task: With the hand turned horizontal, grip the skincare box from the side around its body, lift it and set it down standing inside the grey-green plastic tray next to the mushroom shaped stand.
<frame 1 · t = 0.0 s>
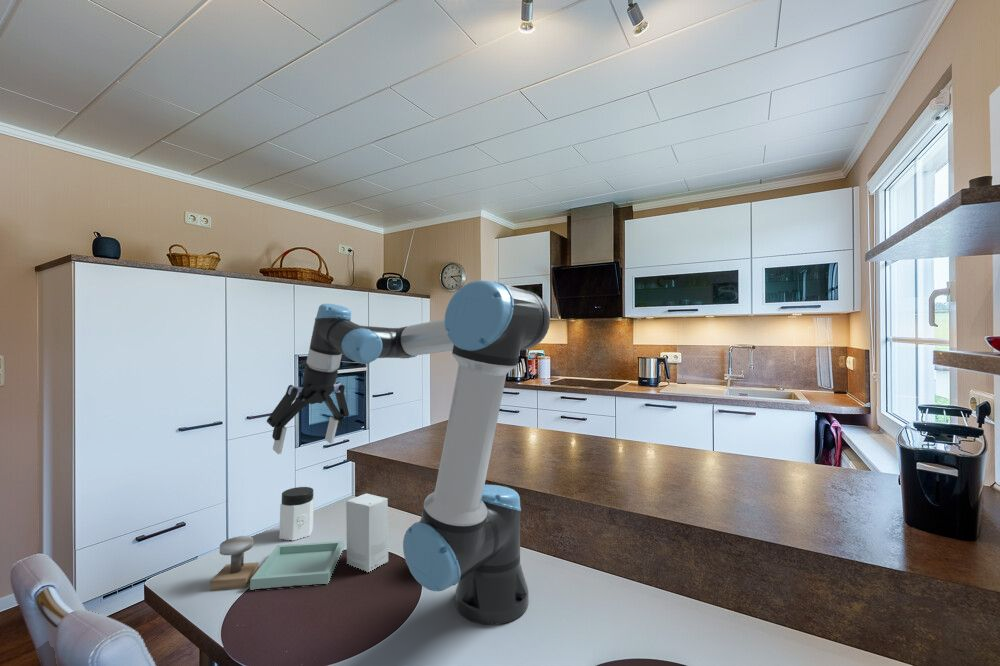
hand: (304, 446, 103), 28 cm above the table, tool tilted 20°, fingers open, 13 cm apart
jar: (296, 535, 116), on the table
skincare box: (366, 564, 100), on the table
disposable coffee cup: (449, 566, 100), on the table
tray: (301, 568, 98), on the table
mushroom shaped stand: (235, 580, 93), on the table
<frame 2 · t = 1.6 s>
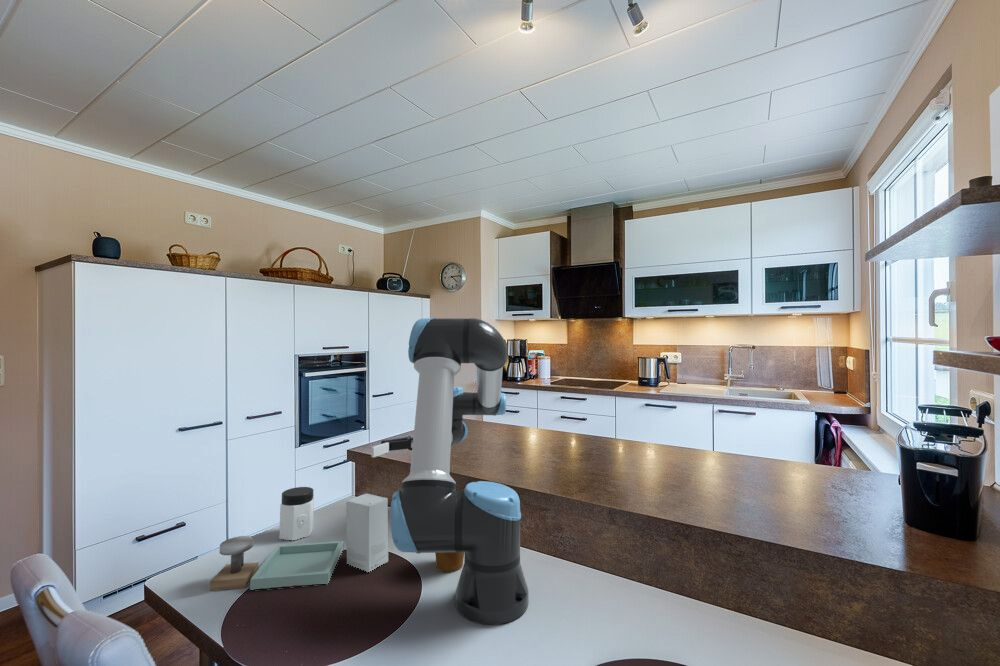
hand: (392, 455, 110), 24 cm above the table, tool horizontal, fingers open, 13 cm apart
nothing on the table moved.
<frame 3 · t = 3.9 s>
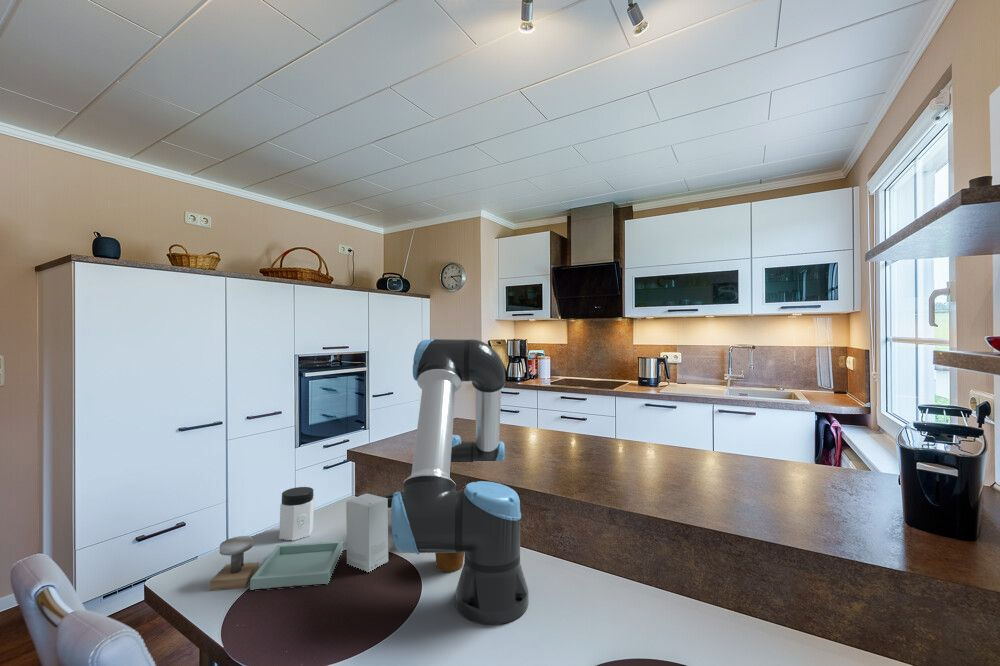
hand: (386, 517, 107), 8 cm above the table, tool horizontal, fingers open, 13 cm apart
nothing on the table moved.
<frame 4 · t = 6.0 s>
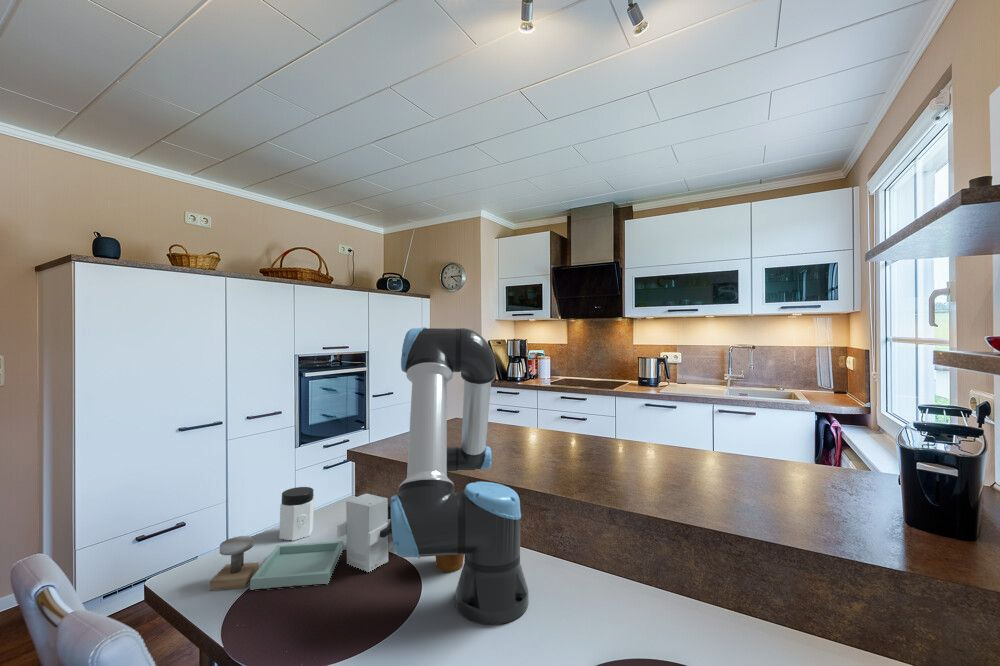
hand: (353, 535, 96), 9 cm above the table, tool horizontal, fingers closed on skincare box, 9 cm apart
skincare box: (366, 564, 100), on the table, touching gripper
everything else where it was.
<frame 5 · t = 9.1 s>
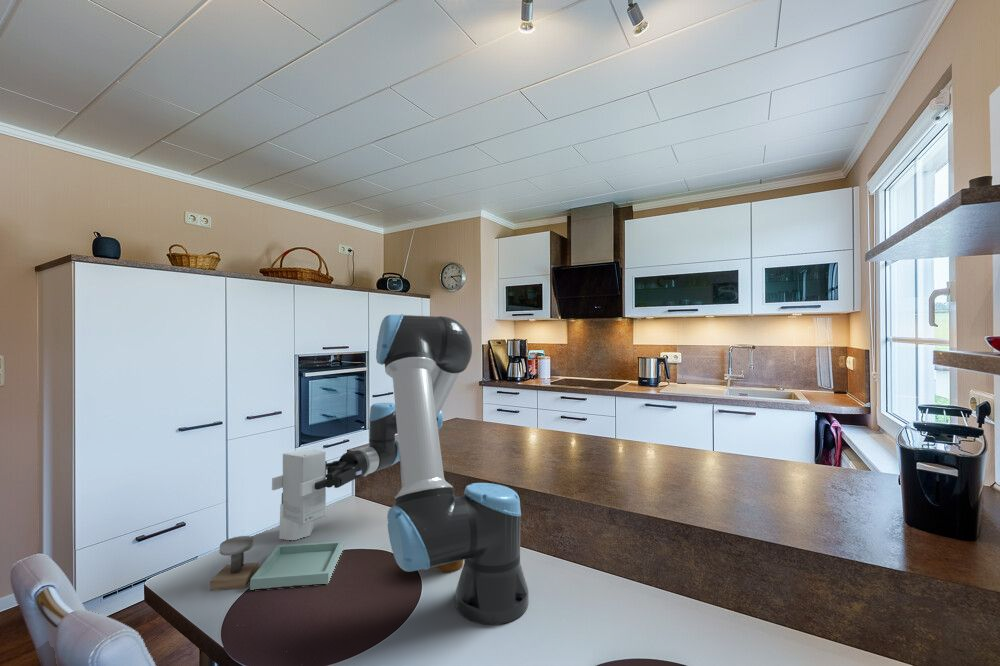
hand: (286, 487, 95), 20 cm above the table, tool horizontal, fingers closed on skincare box, 9 cm apart
skincare box: (303, 518, 98), point 12 cm above the table, touching gripper
everything else where it was.
when the fingers open (10 cm above the table, at t = 11.9 s): skincare box stays where it is, resting on tray.
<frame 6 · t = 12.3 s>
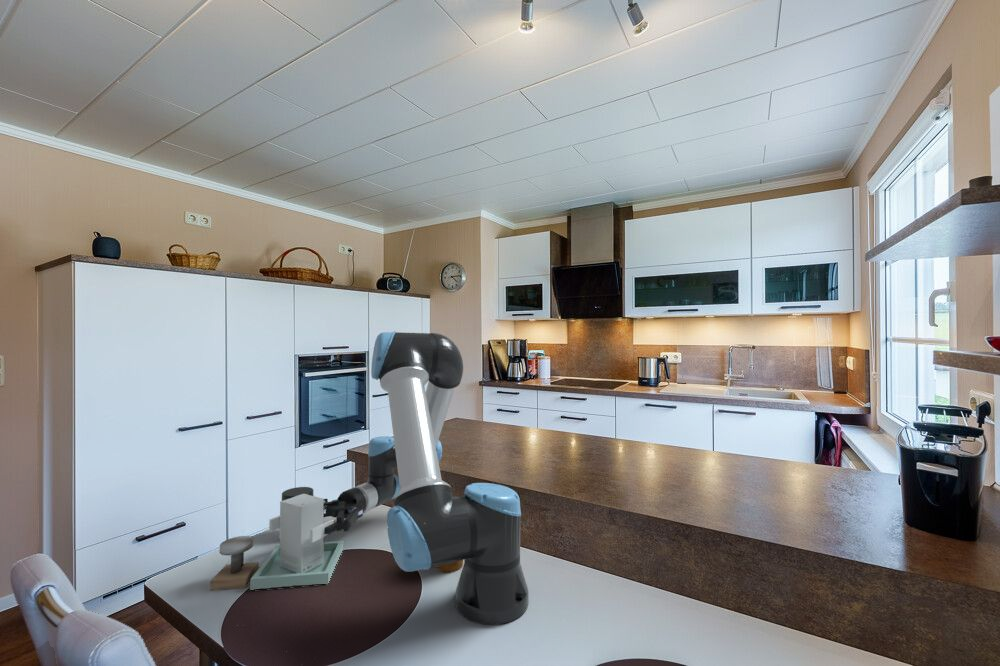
hand: (290, 530, 95), 10 cm above the table, tool horizontal, fingers open, 13 cm apart
skincare box: (300, 566, 98), resting on tray
everything else where it was.
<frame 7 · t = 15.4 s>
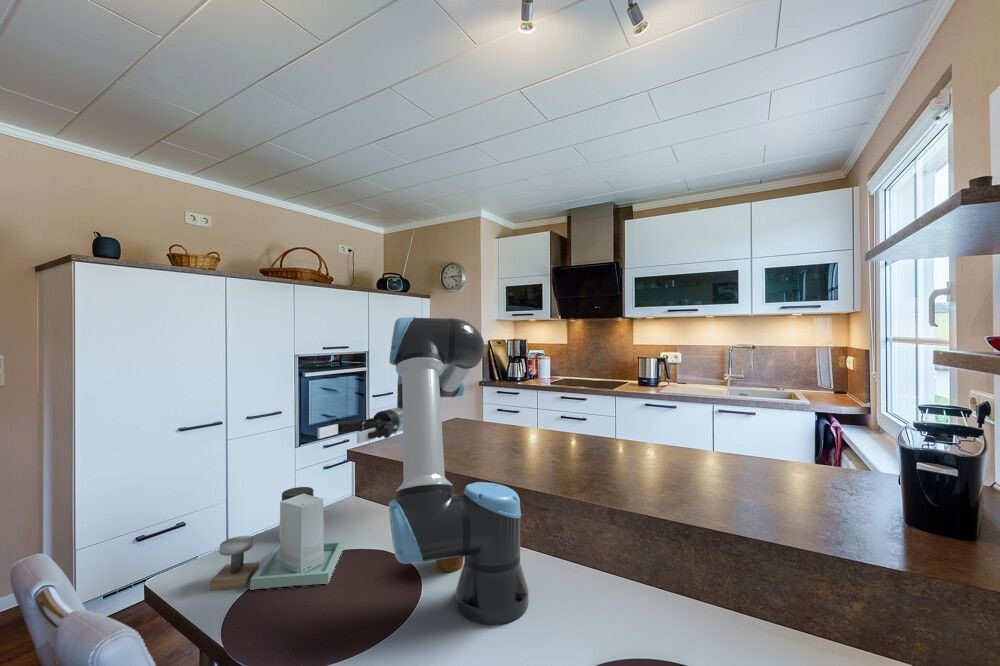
hand: (337, 435, 108), 30 cm above the table, tool horizontal, fingers open, 13 cm apart
nothing on the table moved.
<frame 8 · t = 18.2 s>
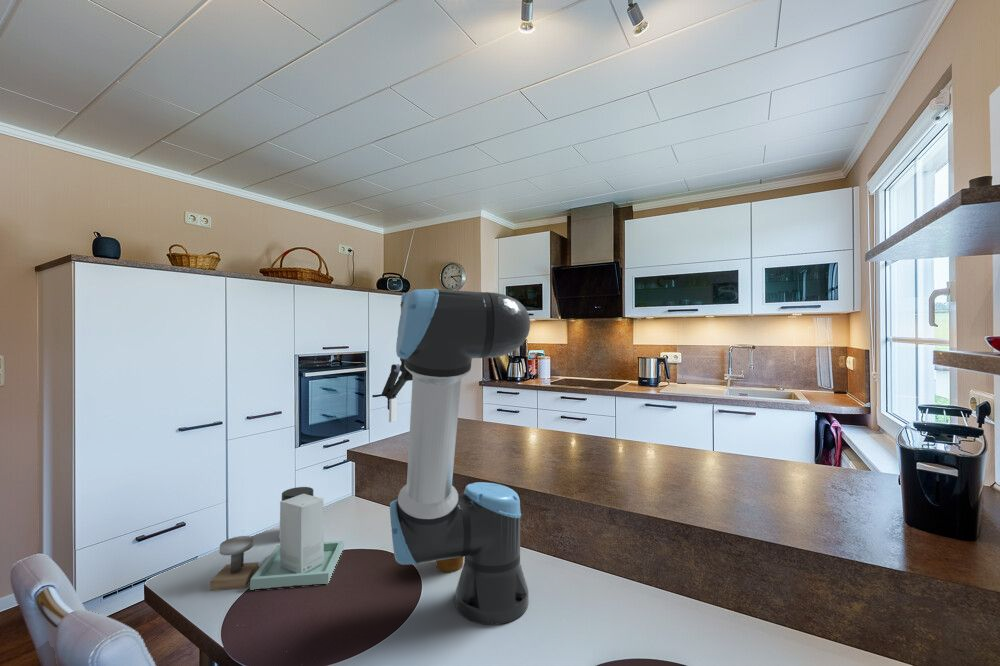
hand: (412, 423, 115), 32 cm above the table, tool pointing down, fingers open, 13 cm apart
nothing on the table moved.
at the end: skincare box inside the target area on the tray (0.1 cm from its centre), point 0.4 cm above the tray's base; skincare box tilted 0°; the gripper is holding nothing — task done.
